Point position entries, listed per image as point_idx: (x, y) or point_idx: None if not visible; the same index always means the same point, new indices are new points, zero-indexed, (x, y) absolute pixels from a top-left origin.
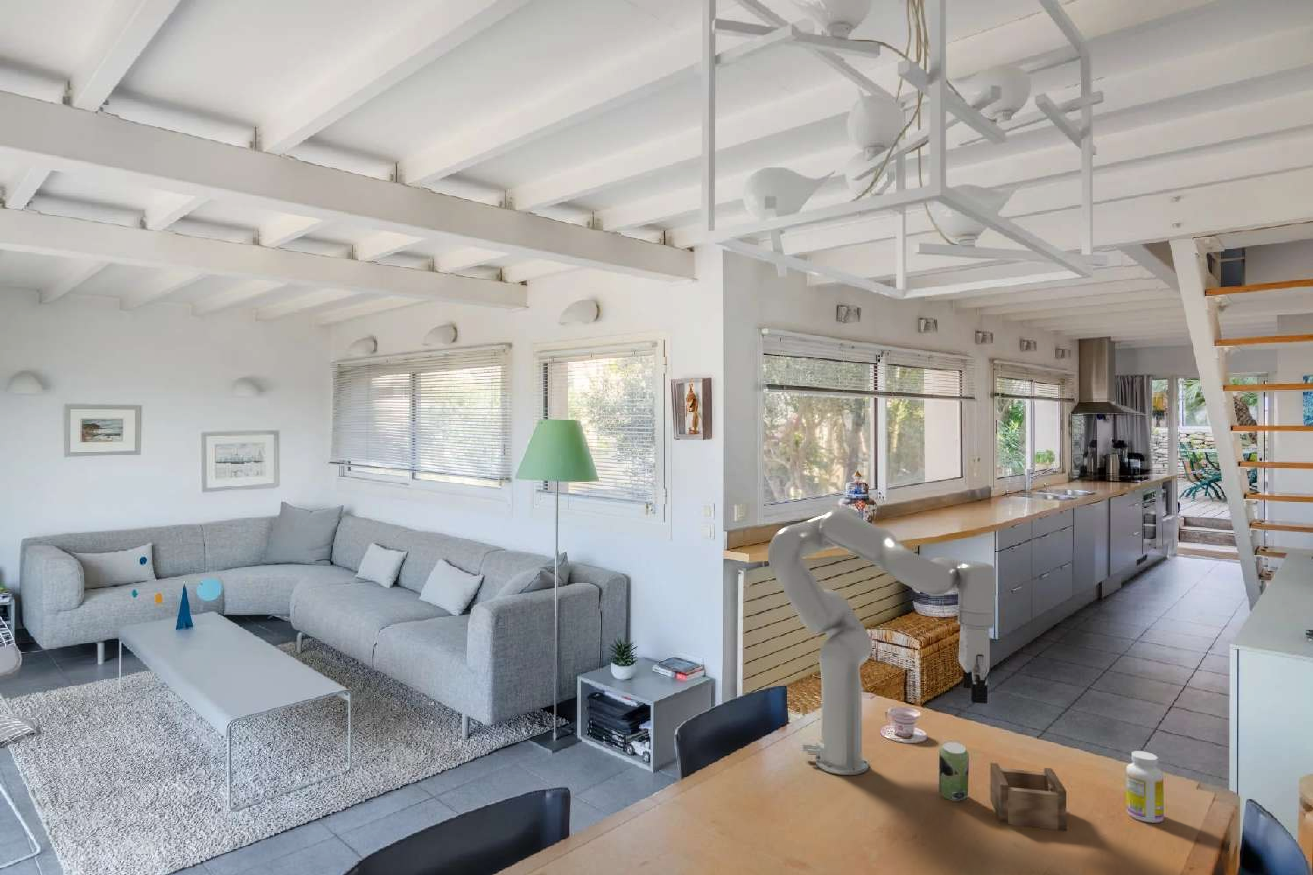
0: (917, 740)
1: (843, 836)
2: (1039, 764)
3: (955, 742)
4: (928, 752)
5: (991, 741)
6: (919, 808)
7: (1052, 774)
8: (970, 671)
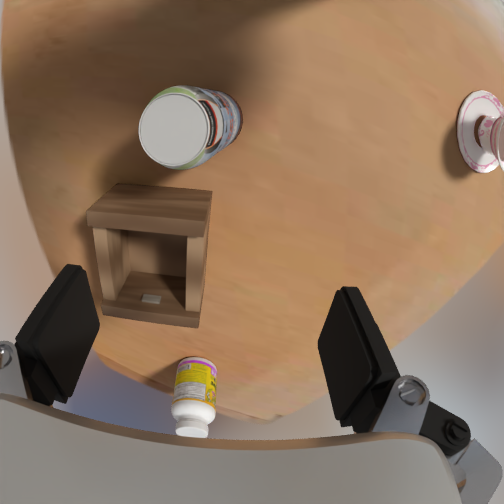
0: (465, 145)
1: None
2: None
3: (203, 140)
4: (422, 141)
5: (440, 268)
6: (151, 45)
7: (168, 320)
8: (359, 400)
